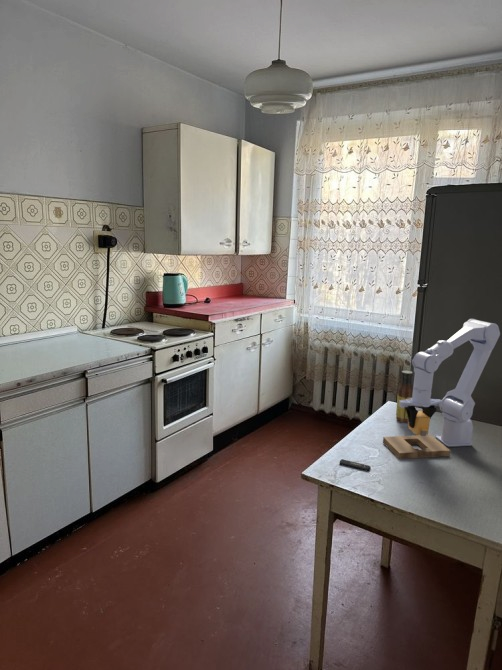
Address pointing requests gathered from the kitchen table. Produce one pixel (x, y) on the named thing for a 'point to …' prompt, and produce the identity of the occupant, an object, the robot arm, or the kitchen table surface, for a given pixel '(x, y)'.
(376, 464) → the kitchen table surface
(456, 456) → the kitchen table surface
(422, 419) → the block
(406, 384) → the sauce bottle
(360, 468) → the usb stick
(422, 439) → the pocket board
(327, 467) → the kitchen table surface
